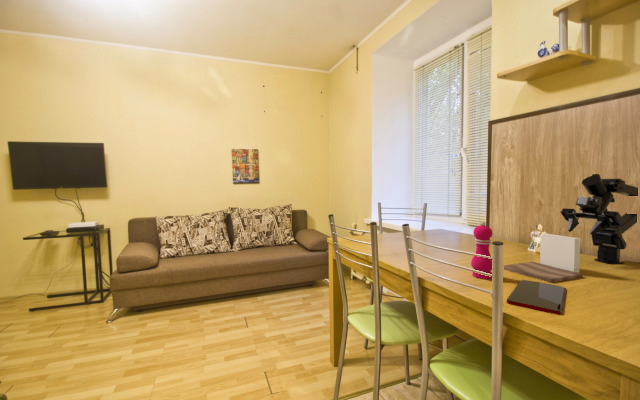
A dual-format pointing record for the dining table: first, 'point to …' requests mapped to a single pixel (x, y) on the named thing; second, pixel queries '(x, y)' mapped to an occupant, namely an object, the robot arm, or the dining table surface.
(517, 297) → the smartphone
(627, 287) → the dining table surface
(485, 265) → the pepper mill
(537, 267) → the brown flat board
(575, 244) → the white flat box
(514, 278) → the dining table surface
